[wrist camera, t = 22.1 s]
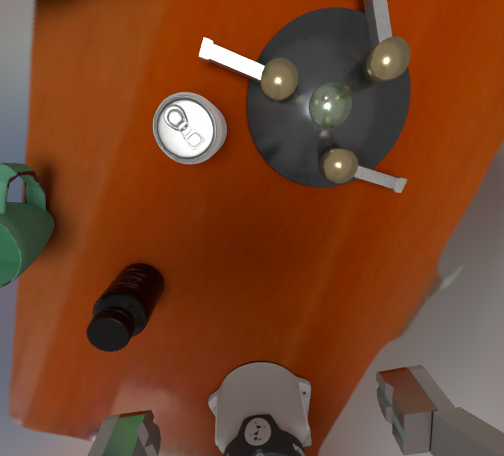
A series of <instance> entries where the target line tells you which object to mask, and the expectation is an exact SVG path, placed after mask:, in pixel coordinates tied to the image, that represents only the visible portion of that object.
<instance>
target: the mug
mask: <svg viewBox="0 0 504 456" xmlns="http://www.w3.org/2000/svg"><path fill="white" fill-rule="evenodd" d="M18 176H20V177H21V178H22V179H23V180H24V181H25V188H26V196H27V204H26V203H15V202H14V203H13V202H7V193H8V188H9V183H10V182H11V181H12V180H14V179H15V178H16V177H18ZM54 226H55V223H54V219H53V217H52V215H51V214H50V213H49V212H48V211H47V210H46V196H45V187H44V186H43V184H42V183H41V181H40V180H39V178H38V177H37V175H36V174H35V172H34V171H33V170H32V169H31V168H30V167H28V166H26V165H24V164H17V163H0V288H1V287H3V286H5V285H7V284H9V283H10V282H11V281H14V280H15V279H16V278H18V277H19V276H20V275H21V274H22V273H23V272H24V271H25V270H26V269H27V268H28V267H29V266H30V265H31V264H32V263H33V262H34V260H35V259H36V258H37V257H38V255H39V254H40V253H41V251H42V250H43V248H44V247H45V245H46V244H47V242H48V240H49V238H50V236H51V234H52V232H53V230H54Z"/></svg>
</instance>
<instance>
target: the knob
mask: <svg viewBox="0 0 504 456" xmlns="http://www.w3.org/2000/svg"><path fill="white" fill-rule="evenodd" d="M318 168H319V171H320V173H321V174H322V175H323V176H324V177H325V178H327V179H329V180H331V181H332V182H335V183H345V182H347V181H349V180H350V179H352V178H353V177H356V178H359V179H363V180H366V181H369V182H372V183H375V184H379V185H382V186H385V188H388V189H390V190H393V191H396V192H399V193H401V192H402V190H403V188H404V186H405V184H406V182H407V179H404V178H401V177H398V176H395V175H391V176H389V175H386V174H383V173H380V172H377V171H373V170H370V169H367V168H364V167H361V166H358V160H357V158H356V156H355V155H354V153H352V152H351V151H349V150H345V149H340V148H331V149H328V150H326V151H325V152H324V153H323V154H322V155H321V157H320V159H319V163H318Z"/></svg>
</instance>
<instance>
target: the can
mask: <svg viewBox="0 0 504 456" xmlns="http://www.w3.org/2000/svg"><path fill="white" fill-rule="evenodd" d="M153 133H154V137H155V140H156V142H157V144H158V146H159V147H160V148H161V150H162V151H163V152H164V153H165V154H166V155H167V156H168V157H170V158H171V159H173V160H175V161H177V162H179V163H183V164H198V163H201V162H204V161H206V160H207V159H209V158H210V157H212V156H213V155H214V154H215V153H216V152H217V151H218V150H219V149H220V148H221V146H222V145H223V143H224V141H225V139H226V135H227V126H226V121H225V119H224V117H223V115H222V113H221V112H220V111H219V110H218V109H217V108H216V107H215V106H214V105H213V104H212V103H211V102H209V101H208V100H207V99H205V98H204V97H202V96H200V95H198V94H195V93H190V92H181V93H176V94H173V95H171V96H169V97H167V98H166V99H165V100H164V101H163V102H162V103H161V104H160V105H159V107H158V109H157V110H156V112H155V115H154V118H153Z"/></svg>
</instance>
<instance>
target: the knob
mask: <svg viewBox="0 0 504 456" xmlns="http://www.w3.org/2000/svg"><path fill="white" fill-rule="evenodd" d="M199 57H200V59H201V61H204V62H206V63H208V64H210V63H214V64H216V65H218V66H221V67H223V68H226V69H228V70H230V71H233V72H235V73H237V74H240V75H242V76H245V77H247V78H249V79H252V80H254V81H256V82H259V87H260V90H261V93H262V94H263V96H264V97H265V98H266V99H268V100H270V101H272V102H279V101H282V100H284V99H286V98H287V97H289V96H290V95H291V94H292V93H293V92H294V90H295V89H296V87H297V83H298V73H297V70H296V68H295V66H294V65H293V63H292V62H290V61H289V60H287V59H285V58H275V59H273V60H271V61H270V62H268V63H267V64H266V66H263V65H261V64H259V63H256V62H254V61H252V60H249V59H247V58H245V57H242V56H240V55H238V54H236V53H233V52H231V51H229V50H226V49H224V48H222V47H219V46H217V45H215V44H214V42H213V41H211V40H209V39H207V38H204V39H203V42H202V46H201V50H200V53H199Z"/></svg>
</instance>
